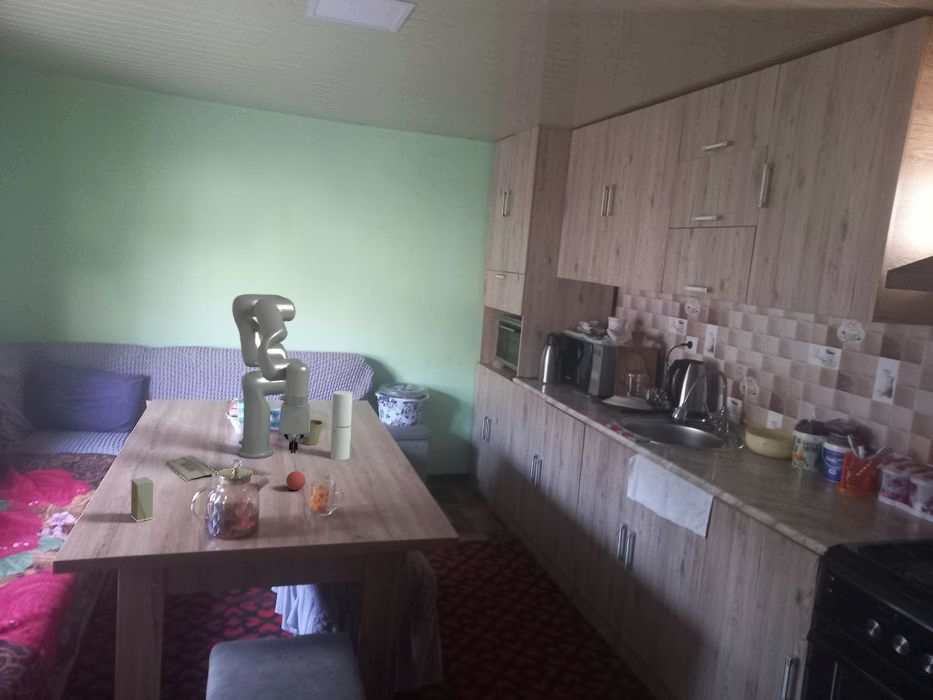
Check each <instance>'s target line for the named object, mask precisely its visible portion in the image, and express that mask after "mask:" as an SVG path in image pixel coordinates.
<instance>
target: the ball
mask: <svg viewBox="0 0 933 700" xmlns="http://www.w3.org/2000/svg"><path fill="white" fill-rule="evenodd" d="M285 481H286V486H287V487H288V488H289V489H290V490H293V491H298V490H301V489H302V488H303V487H304V485H305V483H306V477H305V475H304V474H303V473H302V472H301V471H298V470H295V471H291V472H290V473H289V474H288V475H287V476H286V479H285Z"/></svg>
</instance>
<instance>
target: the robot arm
mask: <svg viewBox="0 0 933 700" xmlns="http://www.w3.org/2000/svg"><path fill="white" fill-rule="evenodd" d="M231 310H232V311H231V312H232V317H233V320H234V323H235V325H236V327H237V330H238V334H239V342H240V348H241V349H240V350H241V356H242V362H243V364H244V365H245V366H246V367H248V368H259V370H252V371H248V372H247V373H245V374H244V375H243V376H242V378H241V388H242V395H243V396H242V397H243V428H242V430H243V432H242V439H241V440H238V444H239V445H241V448H240V449H239V450H238V452H237V453H238V455H239V456H240V457H243V458H247V459H263V458H268V457H270V456H272V455H273V454H274V449H273V448H272V447H270V441H271V440H270V439H271V436H270V435H271V405H270V403H269V402H268V401H267V400H266V398H265V397H268V396H275V395H277V396H278V395H281V396H279V397H280V398H279V400H280V401H283V402H282V403H281V407H280V412H279V420H278V421H279V422H278V431H277V436H279V437H283V438H284V439H286V440H287V441H288V451H290V454H296V453H297V451H298V450H299V442H300V441H301V440H302V438H303V437H307V436H310V420H311V406H310V403H308V400H309V399H308V398H309V395H308V394H309V387H310V386H309V385H310V384H309V382H310V367H309V364H306V363H303V361H302V360H301V359H300V358H297V357H294V358H293V357H291V358H288V354H287V352H286V351H287V350H286V348H285V346H284V345H283V344H282V342H284V341H285V340H286V339H287V337H288V329H287V326H286V324H285V322H291V321H293V320H294V319H295V317H296V314H297V313H296V307H295V303H294V302H293V301H292V300H291V299H290V298H288V297H285V296H281V295H279V294H269V293H267V294H262V293H247V294H246V293H245V294H244V293H243V294H239V295H237V296H235V298H234V299H233V300H232V307H231ZM254 318H256V319H254ZM293 435H295V438H293Z"/></svg>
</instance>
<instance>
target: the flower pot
mask: <svg viewBox="0 0 933 700" xmlns="http://www.w3.org/2000/svg"><path fill="white" fill-rule="evenodd" d="M323 424H324V422H323V421H321V420H319V419H310V436H307V437H303V438H302V439H301V440H302V444H303V445H305V444H306V445H305V446H313V445H315V444H316V445H318V444H319V442H320V435H321V430H322V426H323Z"/></svg>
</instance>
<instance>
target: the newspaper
mask: <svg viewBox="0 0 933 700" xmlns="http://www.w3.org/2000/svg"><path fill="white" fill-rule="evenodd" d="M164 463H166V466H167V465H168V466H169V467H170V468H171V469H172V470H171V469H170V468H169V467H168V466H167V467H168V468H169V469H170V470H171V471H173V470H174V471H175V472H177V474H179V475H181V476H182V477H184V478H185V479H186V480H187V481H186V482H188V481H190V480H193V479H196V478H201V477H206V476H211V475H210V474H215V475H216V477H218V476H217V472H215V471H216V470H217V469H215V468H213V467H212V466H210V465H209V467H210V468H209V467H208V466H207V465H208V464H206V463H204V462H203V461H201V460H200V459H198V457H195V456H193V455H187V456H186V455H185V456H180V457H178V458H173V459H168V460H166V461H164V462H163V464H164ZM205 464H206V465H205ZM211 467H212V469H213V470H214V471H213V470H212V469H211ZM174 471H173V472H174ZM175 472H174V473H175ZM177 474H176V475H177ZM179 475H178V476H179Z"/></svg>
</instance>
